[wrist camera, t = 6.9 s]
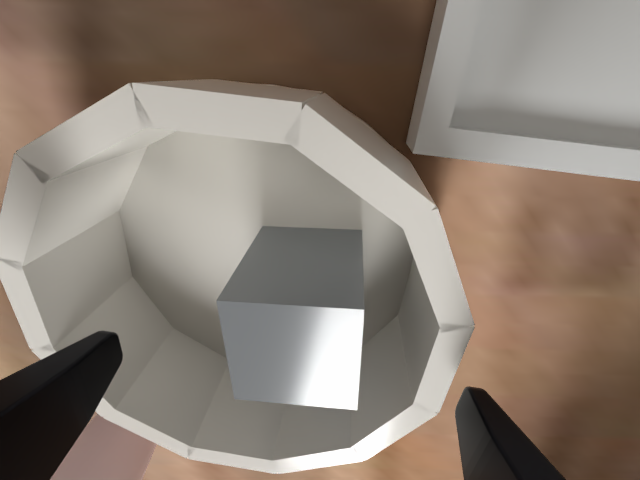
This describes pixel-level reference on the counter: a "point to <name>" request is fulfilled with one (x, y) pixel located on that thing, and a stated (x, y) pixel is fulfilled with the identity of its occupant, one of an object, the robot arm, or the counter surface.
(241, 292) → the grey block
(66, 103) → the counter surface
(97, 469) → the smoothie
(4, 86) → the counter surface
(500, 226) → the counter surface
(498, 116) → the tray
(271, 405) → the bowl
